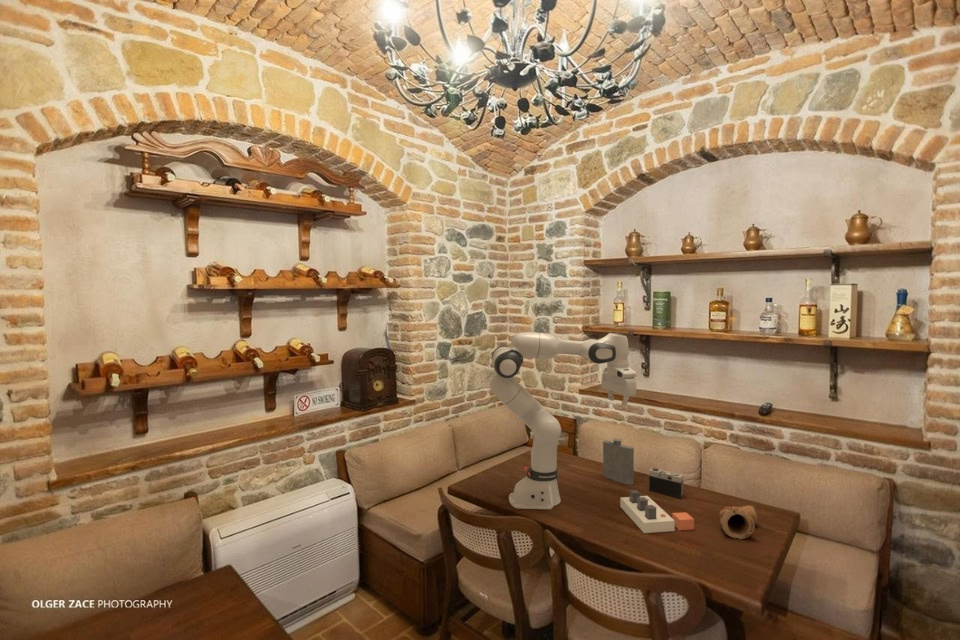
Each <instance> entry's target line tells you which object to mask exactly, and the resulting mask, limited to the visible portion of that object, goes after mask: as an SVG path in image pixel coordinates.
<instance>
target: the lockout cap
mask: <svg viewBox="0 0 960 640" xmlns="http://www.w3.org/2000/svg"><path fill="white" fill-rule="evenodd" d="M671 518H672V519H673V520H674V521H675V528H676V529H677V530H679V531H690V530H691V531H692V530H695V518H693V517H692V515H690V514H689V513H687V512H686V511H685V512H672V513H671Z"/></svg>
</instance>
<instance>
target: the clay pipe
mask: <svg viewBox="0 0 960 640" xmlns="http://www.w3.org/2000/svg"><path fill="white" fill-rule="evenodd" d="M758 518H759V516H758V513H757V512H756V510H755V507H754V506H753V505H743V506H733V505H732V506H724V507H723V509H721V510H720V511H719V523H720V525H721V528H722V529H723V532H724V533H725V534H726V535H727V536H729V537H730V538H733V539H736V538H739V539H738V540H744V539H747V538H749V537H750V536H751V535H753V533H754V530H755V524H756V523H757V522H758Z"/></svg>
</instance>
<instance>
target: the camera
mask: <svg viewBox="0 0 960 640" xmlns="http://www.w3.org/2000/svg"><path fill="white" fill-rule="evenodd" d="M648 491H649V492H653V493H656V494H661V495H664V496H668V497H672V498H677V499H679V500H680V499H682V498H683V497H684V475H683V474H681V473H676V472H673V471H667V470H663V469H658V468H655V467H651V468H650V469H649V471H648Z"/></svg>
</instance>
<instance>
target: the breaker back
mask: <svg viewBox="0 0 960 640" xmlns="http://www.w3.org/2000/svg"><path fill="white" fill-rule="evenodd" d="M640 496H641V493H640V492H639V491H638V490H637V489H629V497H630V501H631V502H632V503H637V498H638V497H640Z"/></svg>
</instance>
